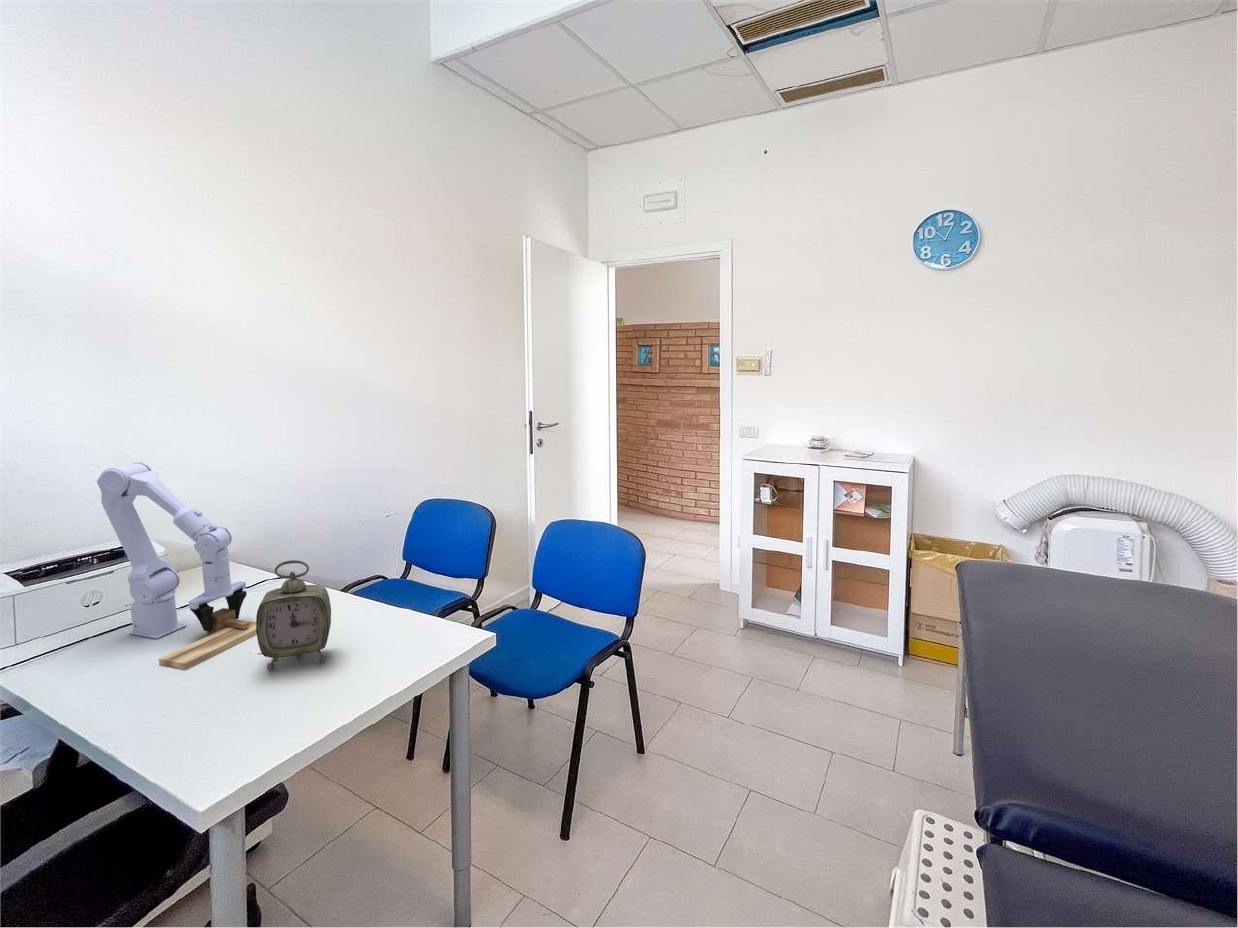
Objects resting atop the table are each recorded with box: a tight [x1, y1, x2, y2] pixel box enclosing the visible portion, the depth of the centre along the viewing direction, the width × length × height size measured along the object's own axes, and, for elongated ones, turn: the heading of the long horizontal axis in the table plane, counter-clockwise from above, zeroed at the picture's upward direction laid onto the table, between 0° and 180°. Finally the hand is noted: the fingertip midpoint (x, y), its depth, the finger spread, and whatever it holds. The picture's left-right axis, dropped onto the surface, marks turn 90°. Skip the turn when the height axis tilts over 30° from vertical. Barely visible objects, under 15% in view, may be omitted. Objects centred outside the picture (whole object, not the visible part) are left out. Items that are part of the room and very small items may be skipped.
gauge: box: [206, 607, 250, 635], centre depth 151 cm, size 10×5×5 cm, turn 74°
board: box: [158, 619, 257, 671], centre depth 144 cm, size 8×22×2 cm, turn 165°
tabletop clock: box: [255, 559, 332, 671], centre depth 135 cm, size 14×9×25 cm, turn 112°
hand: (221, 624), depth 152 cm, fingers open, 7 cm apart
